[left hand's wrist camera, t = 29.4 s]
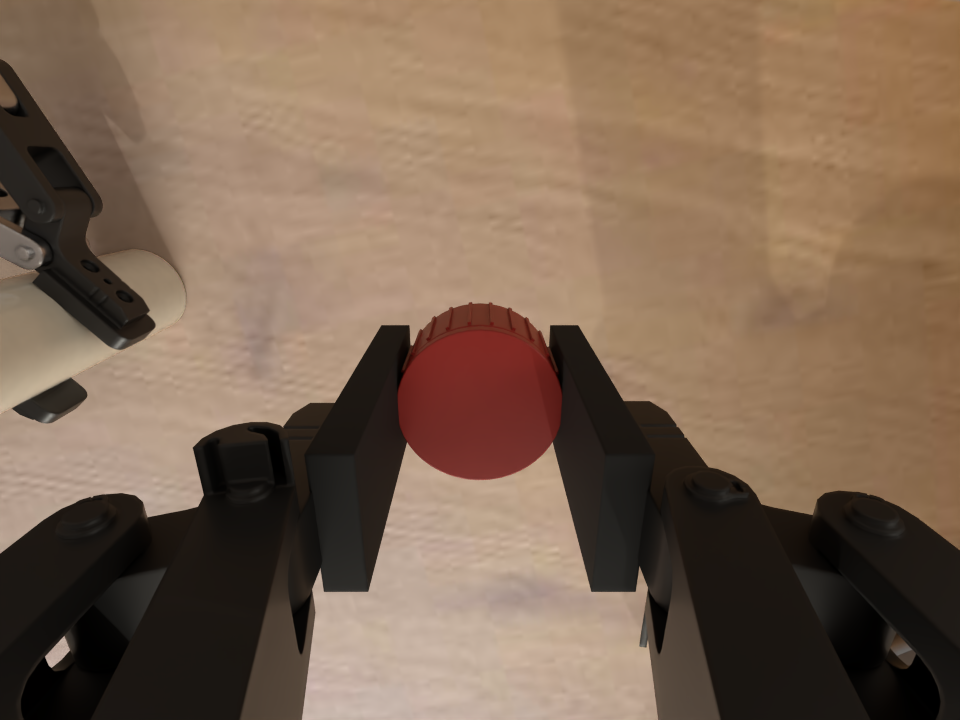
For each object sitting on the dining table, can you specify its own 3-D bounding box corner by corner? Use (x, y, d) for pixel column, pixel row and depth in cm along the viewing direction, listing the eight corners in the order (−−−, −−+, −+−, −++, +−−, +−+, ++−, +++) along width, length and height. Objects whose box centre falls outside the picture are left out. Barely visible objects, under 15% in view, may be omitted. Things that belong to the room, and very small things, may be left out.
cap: (535, 284, 13) (546, 308, 11) (564, 417, 15) (580, 463, 12) (388, 321, 14) (370, 351, 11) (430, 448, 15) (422, 496, 13)
